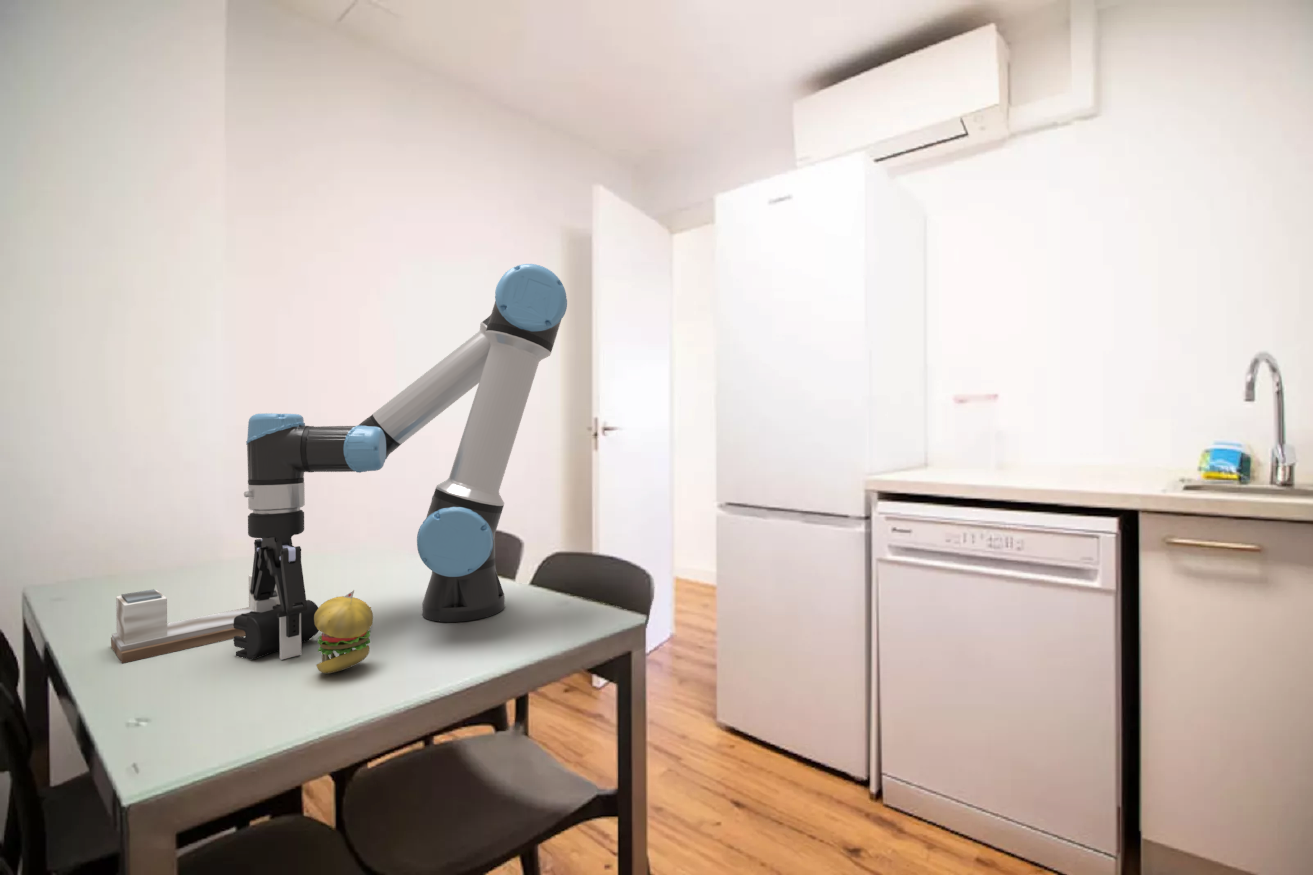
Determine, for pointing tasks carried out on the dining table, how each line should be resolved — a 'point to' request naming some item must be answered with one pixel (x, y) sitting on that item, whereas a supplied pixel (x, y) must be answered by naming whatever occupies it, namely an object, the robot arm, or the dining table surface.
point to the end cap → (268, 631)
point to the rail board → (167, 626)
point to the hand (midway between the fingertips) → (277, 647)
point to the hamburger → (343, 632)
